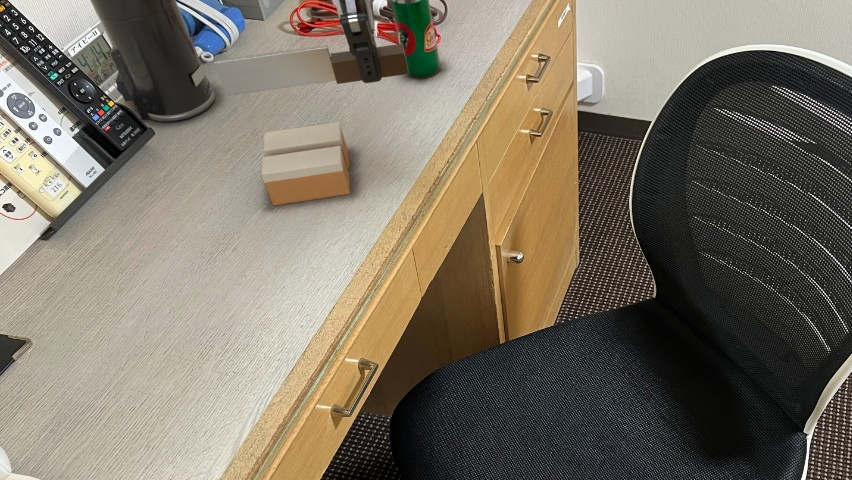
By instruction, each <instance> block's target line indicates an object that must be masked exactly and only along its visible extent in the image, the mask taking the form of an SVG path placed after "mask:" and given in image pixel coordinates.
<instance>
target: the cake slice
mask: <svg viewBox="0 0 852 480" xmlns="http://www.w3.org/2000/svg"><path fill="white" fill-rule="evenodd" d="M260 172H261V173H260V175H261V178H262V180H263V184H264V185H265V188H266V190H267V191H266V192H267V193H268V195H269V199H270V200H271V203H272V206H274V207H275V206H280V205H284V204H285V205H286V204H292V203H301V202H305V201H306V202H307V201H312V200H320V199H326V198H331V197H337V196H345V195H350V194H351V183H350V174H349V170H347V167H346V164H345V160H344V157H343V154H342V150H341V147H340V146H335V147H329V148H322V149H315V150H308V151H301V152H295V153H288V154H281V155H274V156H267V157H265V156H262V160H261V171H260Z"/></svg>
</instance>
